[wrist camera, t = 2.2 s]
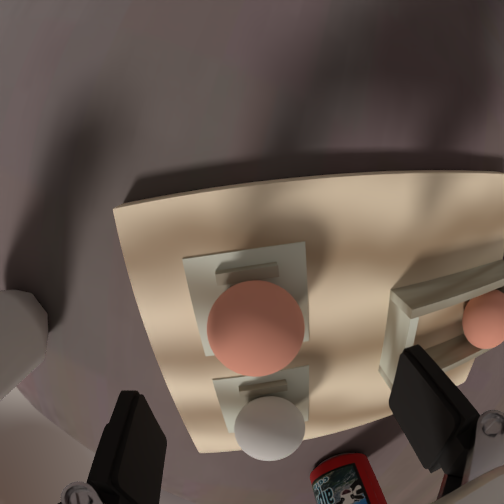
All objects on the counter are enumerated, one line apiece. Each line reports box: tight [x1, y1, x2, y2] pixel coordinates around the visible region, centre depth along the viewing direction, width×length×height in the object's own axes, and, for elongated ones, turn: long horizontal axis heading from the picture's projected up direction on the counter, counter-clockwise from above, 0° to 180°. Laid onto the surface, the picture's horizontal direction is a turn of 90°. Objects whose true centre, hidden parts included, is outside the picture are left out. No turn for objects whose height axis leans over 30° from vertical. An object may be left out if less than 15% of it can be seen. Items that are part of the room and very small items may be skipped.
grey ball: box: [234, 396, 305, 461], centre depth 15 cm, size 4×4×4 cm
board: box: [113, 170, 504, 453], centre depth 16 cm, size 20×26×4 cm
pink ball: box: [462, 289, 504, 349], centre depth 15 cm, size 4×4×4 cm
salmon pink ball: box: [207, 280, 305, 377], centre depth 13 cm, size 4×4×4 cm
